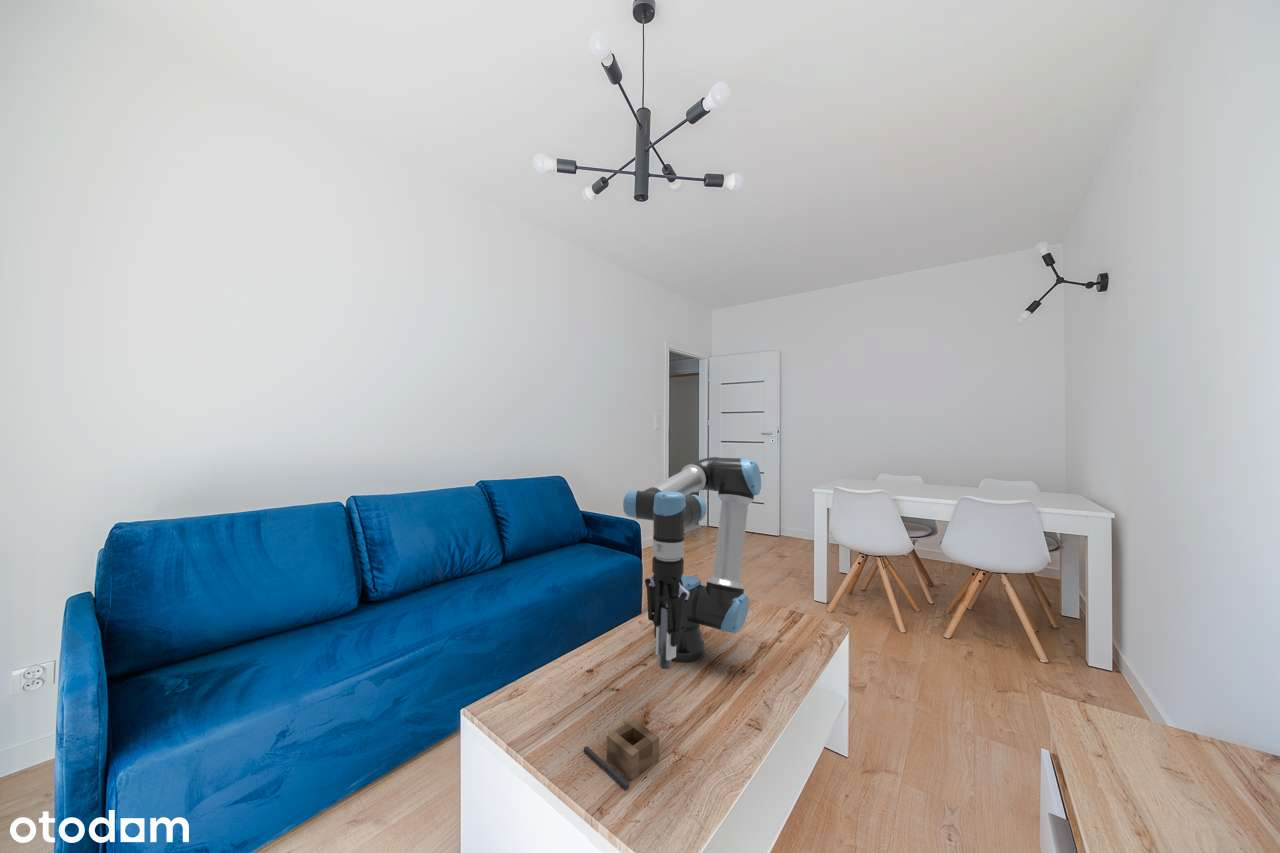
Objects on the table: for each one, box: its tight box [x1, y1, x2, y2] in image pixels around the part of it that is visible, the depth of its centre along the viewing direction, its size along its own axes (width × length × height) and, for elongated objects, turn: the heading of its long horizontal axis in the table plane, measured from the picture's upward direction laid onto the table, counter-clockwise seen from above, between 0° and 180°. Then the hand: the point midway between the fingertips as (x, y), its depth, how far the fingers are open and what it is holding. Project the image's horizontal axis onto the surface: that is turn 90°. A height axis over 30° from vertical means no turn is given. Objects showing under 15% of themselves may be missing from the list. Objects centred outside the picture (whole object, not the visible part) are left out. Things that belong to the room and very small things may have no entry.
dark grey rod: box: [583, 745, 630, 791], centre depth 91 cm, size 14×1×1 cm, turn 44°
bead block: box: [606, 718, 660, 781], centre depth 94 cm, size 8×8×5 cm
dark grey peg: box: [659, 605, 672, 670], centre depth 104 cm, size 3×3×14 cm
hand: (665, 655), depth 103 cm, fingers closed on dark grey peg, 3 cm apart
